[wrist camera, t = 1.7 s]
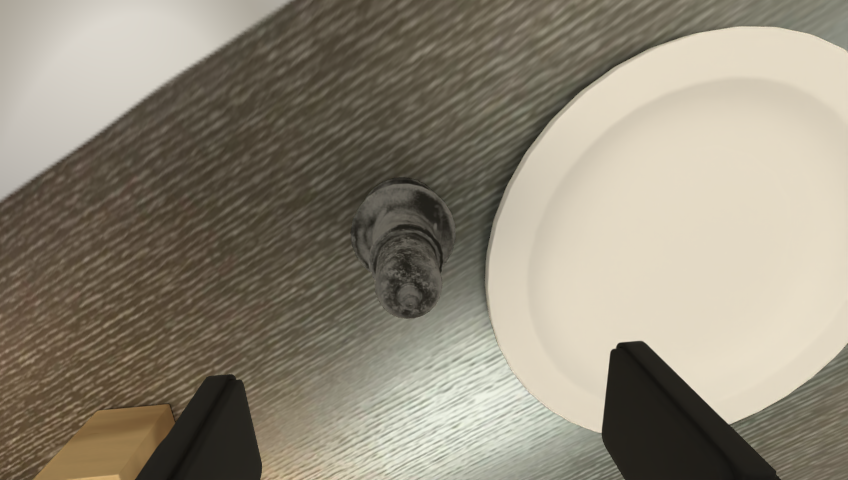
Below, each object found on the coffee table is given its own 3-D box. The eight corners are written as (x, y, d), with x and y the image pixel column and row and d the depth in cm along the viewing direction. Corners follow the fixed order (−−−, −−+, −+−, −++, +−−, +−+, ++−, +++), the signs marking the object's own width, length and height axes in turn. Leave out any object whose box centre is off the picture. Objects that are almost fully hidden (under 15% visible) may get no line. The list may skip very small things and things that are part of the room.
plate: (958, 97, 27) (1009, 98, 25) (754, 437, 35) (779, 460, 33) (559, -30, 23) (578, -43, 21) (435, 389, 31) (439, 411, 29)
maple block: (97, 410, 30) (28, 484, 24) (169, 403, 30) (118, 474, 24) (117, 464, 31) (57, 545, 26) (186, 457, 32) (141, 536, 26)
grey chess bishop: (353, 258, 27) (328, 372, 16) (357, 168, 26) (331, 226, 14) (442, 263, 28) (478, 376, 17) (452, 176, 26) (500, 236, 15)
